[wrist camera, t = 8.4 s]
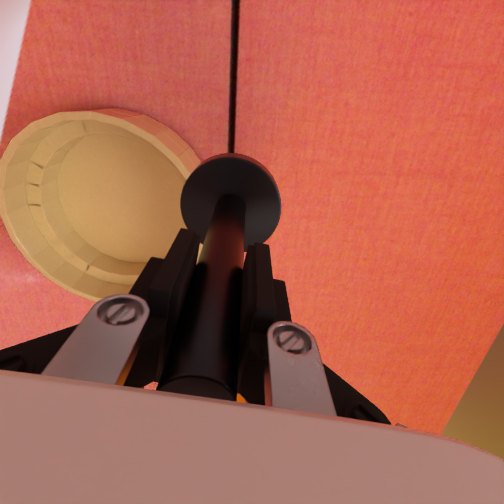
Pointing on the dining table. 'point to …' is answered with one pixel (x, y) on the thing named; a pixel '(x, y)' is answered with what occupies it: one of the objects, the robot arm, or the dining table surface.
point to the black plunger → (218, 271)
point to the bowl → (94, 196)
